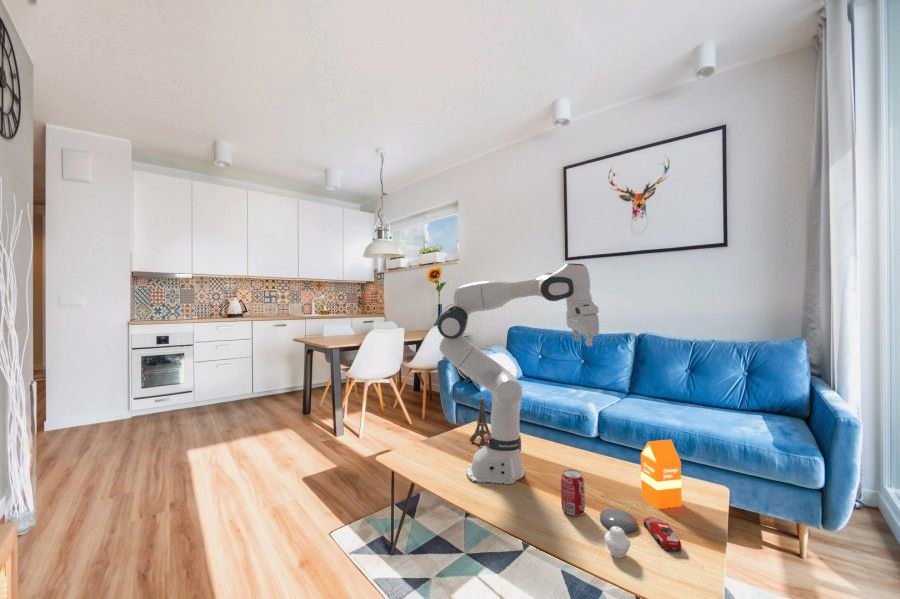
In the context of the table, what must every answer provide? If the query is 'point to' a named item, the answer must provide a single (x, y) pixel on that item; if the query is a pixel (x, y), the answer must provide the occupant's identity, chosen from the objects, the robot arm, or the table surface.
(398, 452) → the table surface
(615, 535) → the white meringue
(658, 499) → the orange juice
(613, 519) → the grey rounded flat dome
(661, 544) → the race car
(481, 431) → the eiffel tower
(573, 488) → the soda can
